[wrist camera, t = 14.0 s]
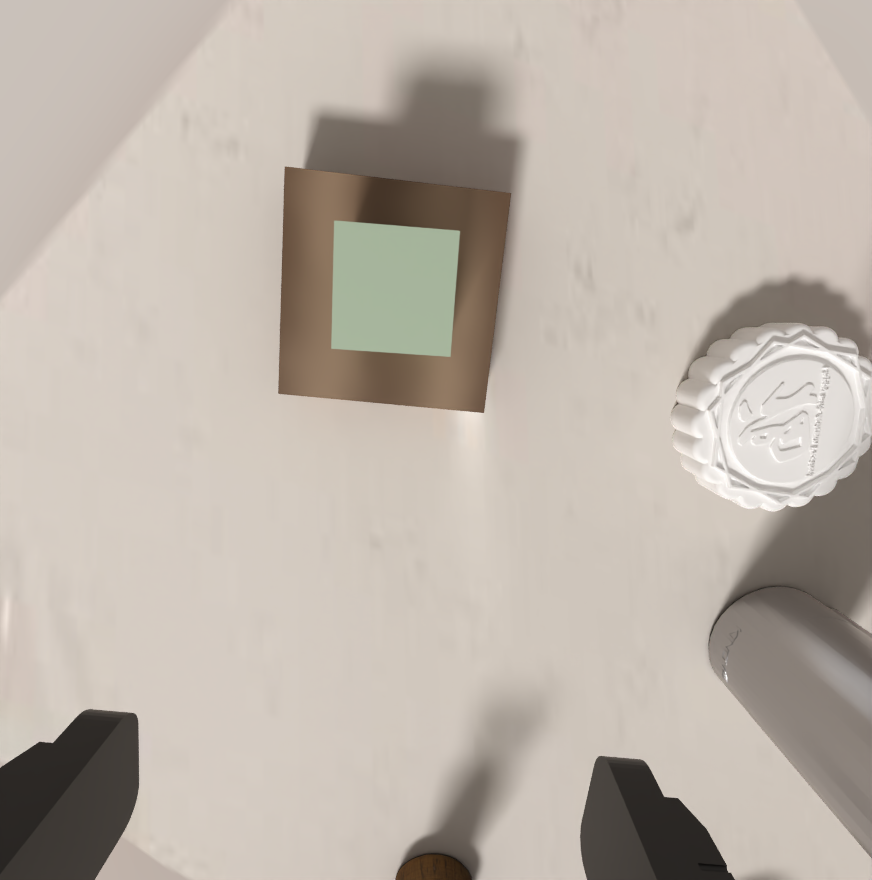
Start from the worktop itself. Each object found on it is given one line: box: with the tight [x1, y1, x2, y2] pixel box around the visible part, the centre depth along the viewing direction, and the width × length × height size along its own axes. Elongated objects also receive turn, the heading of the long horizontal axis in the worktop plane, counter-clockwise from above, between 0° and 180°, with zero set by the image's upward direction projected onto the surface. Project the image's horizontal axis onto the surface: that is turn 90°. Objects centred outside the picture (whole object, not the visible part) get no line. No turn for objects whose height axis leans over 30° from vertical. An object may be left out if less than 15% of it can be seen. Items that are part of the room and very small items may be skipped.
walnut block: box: [278, 167, 511, 413], centre depth 30 cm, size 12×12×4 cm
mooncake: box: [670, 323, 872, 511], centre depth 32 cm, size 12×12×4 cm
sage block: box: [331, 220, 460, 357], centre depth 25 cm, size 6×6×6 cm
